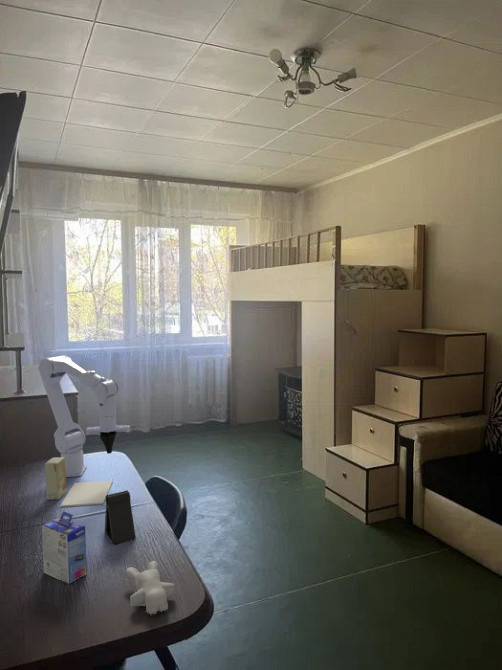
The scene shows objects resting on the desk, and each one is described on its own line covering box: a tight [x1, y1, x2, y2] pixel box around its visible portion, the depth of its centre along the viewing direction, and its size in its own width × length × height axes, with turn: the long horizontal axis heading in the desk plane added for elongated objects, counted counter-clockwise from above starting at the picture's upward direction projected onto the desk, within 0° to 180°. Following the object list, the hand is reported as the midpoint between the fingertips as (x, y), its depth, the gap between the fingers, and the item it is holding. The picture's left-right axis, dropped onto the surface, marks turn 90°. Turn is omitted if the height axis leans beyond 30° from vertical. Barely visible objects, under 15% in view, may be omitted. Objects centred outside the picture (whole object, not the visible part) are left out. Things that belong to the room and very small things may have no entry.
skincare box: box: [44, 456, 68, 500], centre depth 162 cm, size 6×4×12 cm
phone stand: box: [104, 489, 137, 546], centre depth 135 cm, size 9×6×12 cm, turn 31°
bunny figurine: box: [124, 560, 175, 615], centre depth 108 cm, size 10×5×15 cm
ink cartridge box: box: [41, 511, 88, 584], centre depth 117 cm, size 10×6×14 cm, turn 58°
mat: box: [60, 480, 114, 508], centre depth 163 cm, size 18×13×1 cm
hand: (109, 452), depth 173 cm, fingers closed
